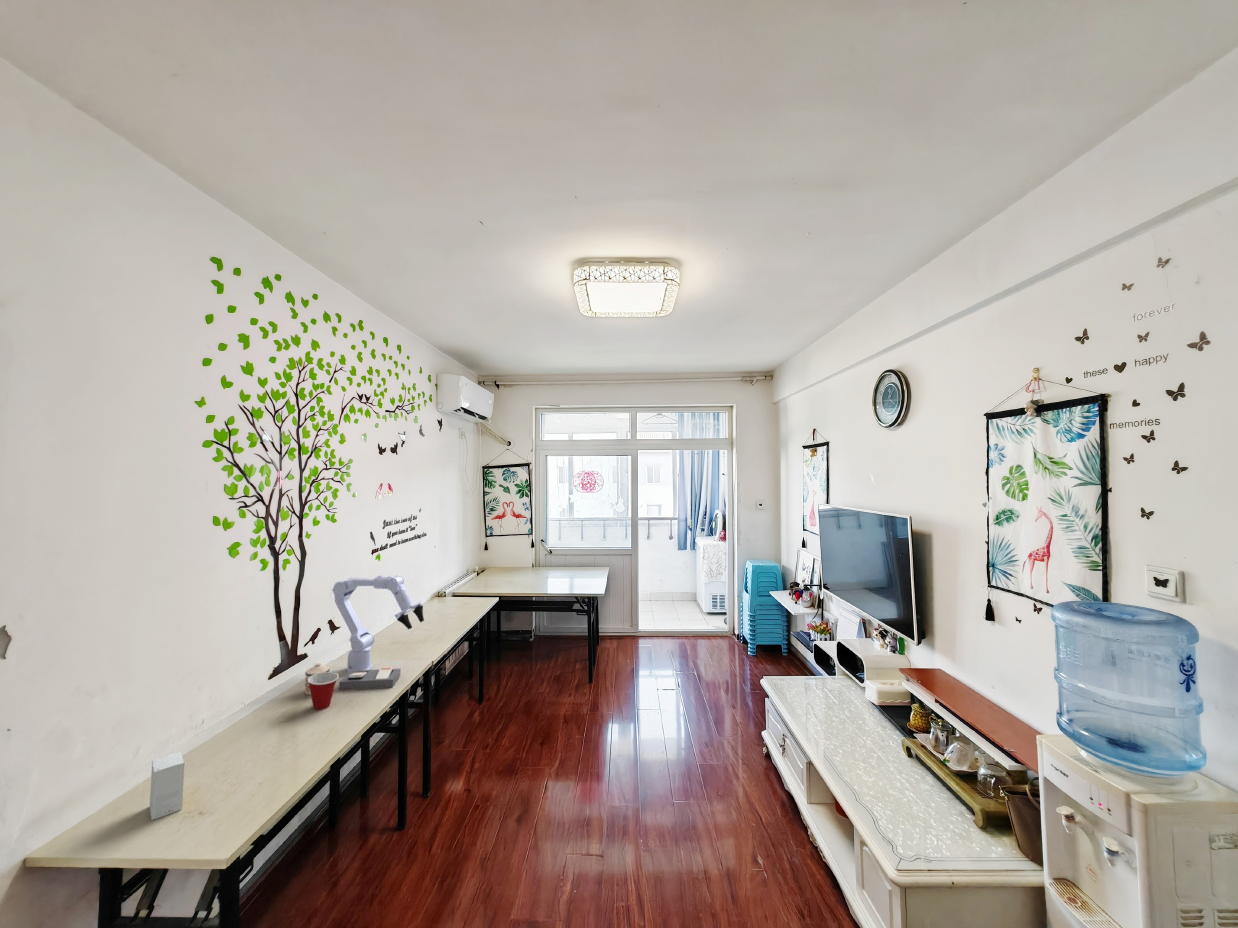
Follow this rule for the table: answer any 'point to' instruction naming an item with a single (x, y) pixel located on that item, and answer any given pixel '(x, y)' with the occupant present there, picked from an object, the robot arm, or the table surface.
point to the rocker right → (384, 672)
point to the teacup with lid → (311, 671)
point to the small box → (166, 785)
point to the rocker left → (357, 674)
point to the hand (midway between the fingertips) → (416, 624)
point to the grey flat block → (369, 680)
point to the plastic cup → (322, 689)
